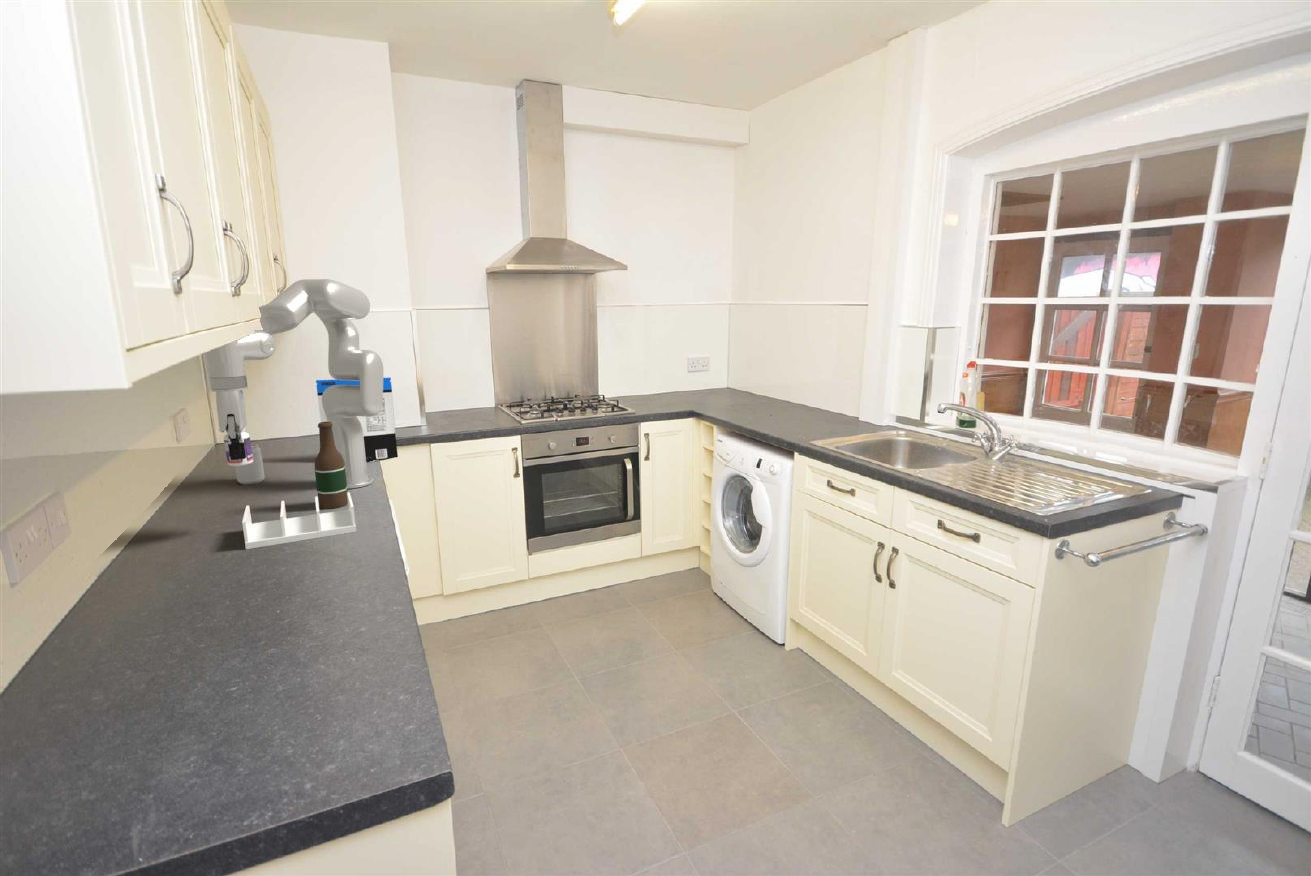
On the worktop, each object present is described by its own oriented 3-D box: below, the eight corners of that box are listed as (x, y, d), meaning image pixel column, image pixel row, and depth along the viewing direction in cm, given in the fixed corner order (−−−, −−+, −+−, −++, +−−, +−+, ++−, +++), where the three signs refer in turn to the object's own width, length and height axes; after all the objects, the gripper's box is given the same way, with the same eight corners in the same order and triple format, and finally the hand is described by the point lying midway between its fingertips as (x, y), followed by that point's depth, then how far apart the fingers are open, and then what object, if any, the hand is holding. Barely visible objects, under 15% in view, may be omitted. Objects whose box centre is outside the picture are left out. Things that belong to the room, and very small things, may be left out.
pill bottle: (247, 459, 158) (241, 422, 156) (257, 462, 155) (252, 424, 153) (223, 464, 153) (217, 426, 151) (234, 467, 151) (227, 428, 148)
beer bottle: (322, 511, 171) (312, 426, 166) (316, 504, 177) (306, 422, 172) (352, 505, 176) (343, 422, 171) (345, 499, 182) (336, 418, 177)
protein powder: (397, 460, 228) (390, 378, 221) (323, 466, 219) (313, 381, 213) (398, 454, 236) (391, 376, 230) (327, 459, 228) (317, 378, 222)
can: (231, 484, 197) (226, 447, 195) (251, 477, 204) (246, 442, 202) (251, 485, 195) (245, 448, 193) (270, 479, 202) (265, 443, 200)
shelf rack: (249, 529, 157) (246, 505, 156) (351, 514, 168) (349, 491, 167) (245, 549, 144) (242, 522, 143) (356, 531, 156) (353, 506, 154)
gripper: (215, 380, 155) (226, 450, 159) (204, 389, 141) (216, 466, 145) (250, 379, 159) (260, 447, 163) (243, 387, 144) (254, 462, 148)
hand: (239, 455), depth 154 cm, fingers closed on pill bottle, 5 cm apart
